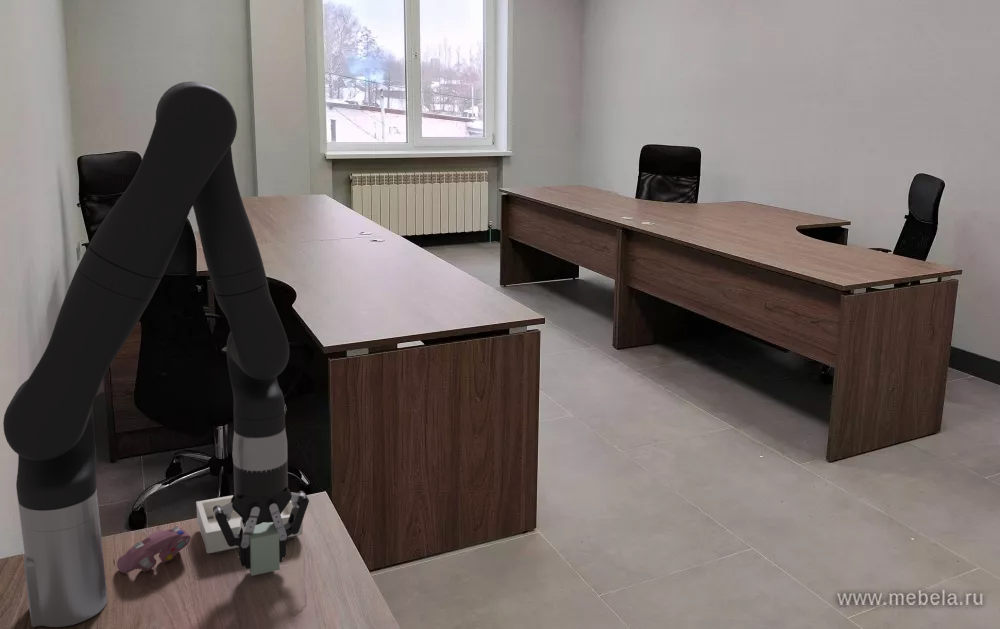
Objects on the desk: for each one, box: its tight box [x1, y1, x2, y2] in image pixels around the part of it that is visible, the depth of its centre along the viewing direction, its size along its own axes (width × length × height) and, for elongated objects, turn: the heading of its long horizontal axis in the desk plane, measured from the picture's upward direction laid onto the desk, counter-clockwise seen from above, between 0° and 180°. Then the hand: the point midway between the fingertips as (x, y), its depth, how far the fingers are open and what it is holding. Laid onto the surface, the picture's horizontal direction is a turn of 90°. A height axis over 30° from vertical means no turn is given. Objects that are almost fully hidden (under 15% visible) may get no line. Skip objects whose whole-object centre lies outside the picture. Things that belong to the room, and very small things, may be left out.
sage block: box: [249, 522, 281, 577], centre depth 123 cm, size 4×4×6 cm
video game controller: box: [116, 525, 192, 574], centre depth 124 cm, size 10×5×7 cm, turn 143°
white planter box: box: [195, 494, 304, 555], centre depth 133 cm, size 15×11×5 cm
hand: (263, 562), depth 123 cm, fingers closed on sage block, 4 cm apart
